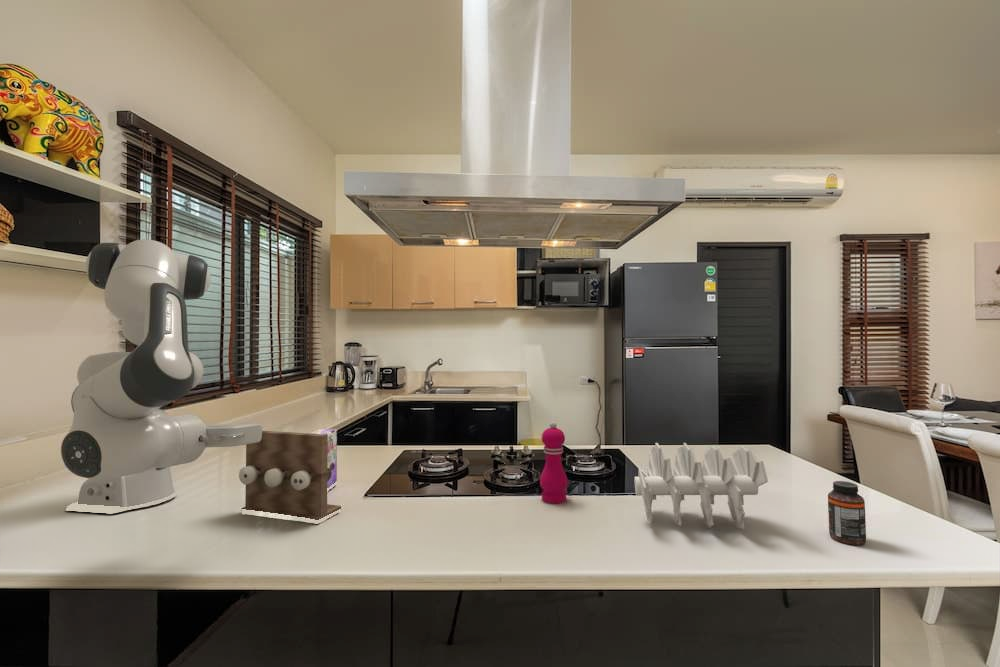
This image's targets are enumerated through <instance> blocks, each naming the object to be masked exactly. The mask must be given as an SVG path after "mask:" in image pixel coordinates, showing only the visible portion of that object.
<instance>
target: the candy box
mask: <svg viewBox="0 0 1000 667" xmlns="http://www.w3.org/2000/svg"><path fill="white" fill-rule="evenodd" d="M309 433H310V434H327V435H328V463H327V488H329V487H330V486H331V485H332V484H334V483H335V482H336V481H337V482H338V479H337V478H338V477H337V476H338V472H337V471H338V469H337V468H338V465H337V464H338V462H337V461H338V458H337V457H338V456H337V455H338V452H337V451H338V441H337V440H338V436H337V435H338V429H335V428H333V429H330V428H329V429H326V428H324V429H317V430H315V431H312V432H309Z"/></svg>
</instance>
